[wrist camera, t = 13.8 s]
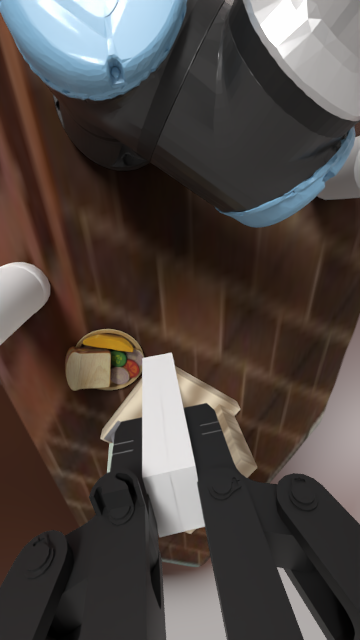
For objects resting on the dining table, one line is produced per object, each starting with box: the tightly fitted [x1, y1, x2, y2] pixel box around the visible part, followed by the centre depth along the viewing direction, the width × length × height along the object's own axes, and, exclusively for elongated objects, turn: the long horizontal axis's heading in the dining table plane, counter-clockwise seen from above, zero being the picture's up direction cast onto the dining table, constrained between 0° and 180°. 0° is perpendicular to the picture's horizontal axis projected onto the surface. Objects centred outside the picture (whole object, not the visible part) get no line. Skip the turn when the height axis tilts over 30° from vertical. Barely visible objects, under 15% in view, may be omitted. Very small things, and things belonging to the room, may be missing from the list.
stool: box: [101, 366, 258, 534], centre depth 48 cm, size 20×20×16 cm
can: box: [317, 136, 360, 200], centre depth 37 cm, size 8×8×12 cm
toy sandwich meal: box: [65, 329, 144, 391], centre depth 47 cm, size 12×14×5 cm
